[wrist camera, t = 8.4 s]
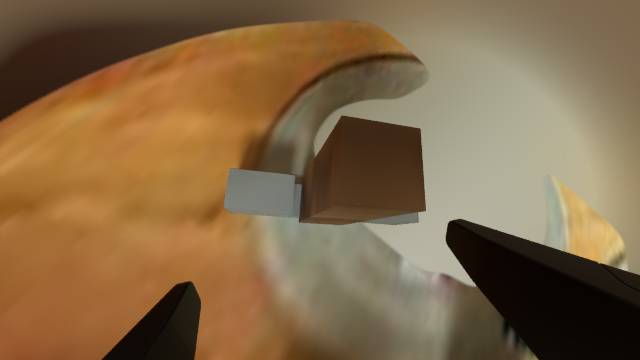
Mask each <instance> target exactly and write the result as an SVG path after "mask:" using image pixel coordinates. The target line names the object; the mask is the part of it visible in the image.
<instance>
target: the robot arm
mask: <svg viewBox="0 0 640 360" xmlns="http://www.w3.org/2000/svg"><path fill="white" fill-rule="evenodd" d="M446 243H447V245H448V247H449V248H450V249H451V251H452V252H453V254H454V255H455V257H456V258H457V259H458V261H459V262H460V264H461V265H462V267H463V268H464V269H465V271H466V272H467V274H468V275H469V276H470V278H471V279H472V281H473V282H474V283H475V284H476V286H477V287H478V288H479V289H480V290H481V292H482V293H483V294H484V295H485V296H486V298H487V299H488V300H489V301H490V302H491V303H492V305H493V306H494V307H495V308H496V309H497V311H498V312H499V313H500V314H501V315H502V317H503V318H504V319H505V320H506V321H507V322H508V324H509V325H510V326H511V327H512V328H513V330H514V331H515V332H516V333H517V334H518V335H519V337H520V338H521V339H522V340H523V341H524V343H525V344H526V345H527V346H528V347H529V349H530V350H531V351H532V352H533V353H534V354H535V356H536V357H537V358H538V359H539V360H640V275H637V274H634V273H631V272H628V271H624V270H621V269H618V268H615V267H612V266H608V265H605V264H602V263H600V264H599V263H598V262H596V261H592V260H589V259H586V258H583V257H580V256H577V255H573V254H570V253H567V252H564V251H561V250H558V249H554V248H551V247H548V246H545V245H542V244H539V243H535V242H532V241H529V240H526V239H523V238H520V237H516V236H513V235H510V234H507V233H504V232H501V231H497V230H494V229H491V228H488V227H485V226H482V225H479V224H475V223H472V222H469V221H466V220H462V219H457V220H452V221H450V222H449V223H448V227H447V233H446ZM200 310H201V300H200V297H199V295H198V293H197V291H196V289H195V286H194V284H193V283H192V282H191V281H187V282H183V283H179V284H176V285H175V286H174V287H173V288H172V289H171V290H170V291H169V292H168V293H167V294H166V295H165V296H164V297H163V298H162V299H161V300H160V301H159V302H158V303H157V304H156V305H155V306H154V307H153V308H152V309H151V310H150V311H149V312H148V313H147V314H146V315H145V316H144V317H143V318H142V319H141V320H140V321H139V322H138V323H137V324H136V325H135V326H134V327H133V328H132V329H131V330H130V331H129V332H128V333H127V334H126V335H125V336H124V337H123V338H122V339H121V340H120V341H119V342H118V343H117V344H116V345H115V346H114V347H113V348H112V350H111V351H110V352H109V353H108V354H107V355H106V356H105V357H104V358H103V359H102V360H194V358H195V351H196V343H197V334H198V326H199V318H200Z"/></svg>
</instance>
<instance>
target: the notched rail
mask: <svg viewBox="0 0 640 360" xmlns="http://www.w3.org/2000/svg"><path fill="white" fill-rule="evenodd" d="M300 200H301V185H300V184H295V175H288V174H279V173H270V172H261V171H252V170H243V169H234V168H230V170H229V176H228V182H227V189H226V195H225V201H224V208H225V209H226V210H228V211H229V212H231V213H238V214H252V215H266V216H280V217H293V218H299V214H300ZM418 222H419V220H418V212H417V213H411V214H405V215H399V216H393V217H387V218H381V219H375V220H369V221H363V222H362V223H375V224H389V225H397V224H408V223H418Z"/></svg>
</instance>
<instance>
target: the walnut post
mask: <svg viewBox="0 0 640 360" xmlns="http://www.w3.org/2000/svg"><path fill="white" fill-rule="evenodd" d="M423 211H426V205H425V190H424V175H423V160H422V145H421V130H420V128H413V127H407V126H401V125H396V124H389V123H384V122H378V121H371V120H366V119H360V118H354V117H348V116H341V118H340V120H339V121H338V123H337V124H336V126H335V127H334V129H333V131H332V132H331V134H330V135H329V137H328V138H327V140H326V142H325V143H324V145H323V147H322V148H321V150H320V151H319V153H318V154H317V156H316V158H315V159H314V161H313V162H312V164H311V166H310V167H309V169H308V170H307V172H306V174H305V175H304V177H303V178H302V185H301V200H300V214H299V222H302V223H317V224H333V225H345V224H351V223H357V222H363V221H369V220H375V219H381V218H387V217H393V216H399V215H405V214H411V213H417V212H423Z"/></svg>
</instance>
